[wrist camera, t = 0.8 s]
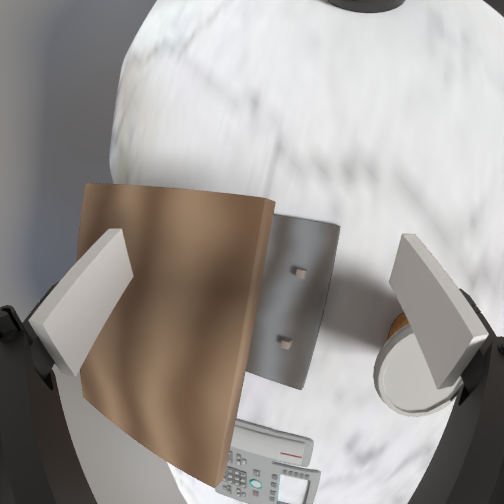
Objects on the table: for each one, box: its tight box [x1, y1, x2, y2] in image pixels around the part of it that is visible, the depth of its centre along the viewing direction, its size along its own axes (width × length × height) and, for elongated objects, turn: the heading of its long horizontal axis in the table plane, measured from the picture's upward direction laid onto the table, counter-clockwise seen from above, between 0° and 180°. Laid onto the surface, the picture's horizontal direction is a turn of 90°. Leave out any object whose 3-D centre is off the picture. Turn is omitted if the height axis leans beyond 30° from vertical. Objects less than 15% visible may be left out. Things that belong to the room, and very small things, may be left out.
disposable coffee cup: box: [373, 313, 463, 417], centre depth 24 cm, size 10×10×12 cm
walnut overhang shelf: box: [77, 183, 341, 488], centre depth 28 cm, size 18×22×22 cm
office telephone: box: [215, 419, 321, 504], centre depth 38 cm, size 23×3×20 cm
